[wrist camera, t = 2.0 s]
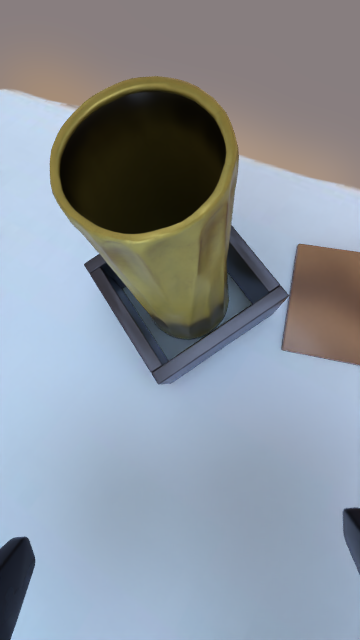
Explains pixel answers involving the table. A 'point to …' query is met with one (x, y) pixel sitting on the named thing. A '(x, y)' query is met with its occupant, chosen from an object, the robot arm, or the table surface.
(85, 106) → the vase
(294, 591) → the table surface
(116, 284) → the holder
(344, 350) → the cork pad
